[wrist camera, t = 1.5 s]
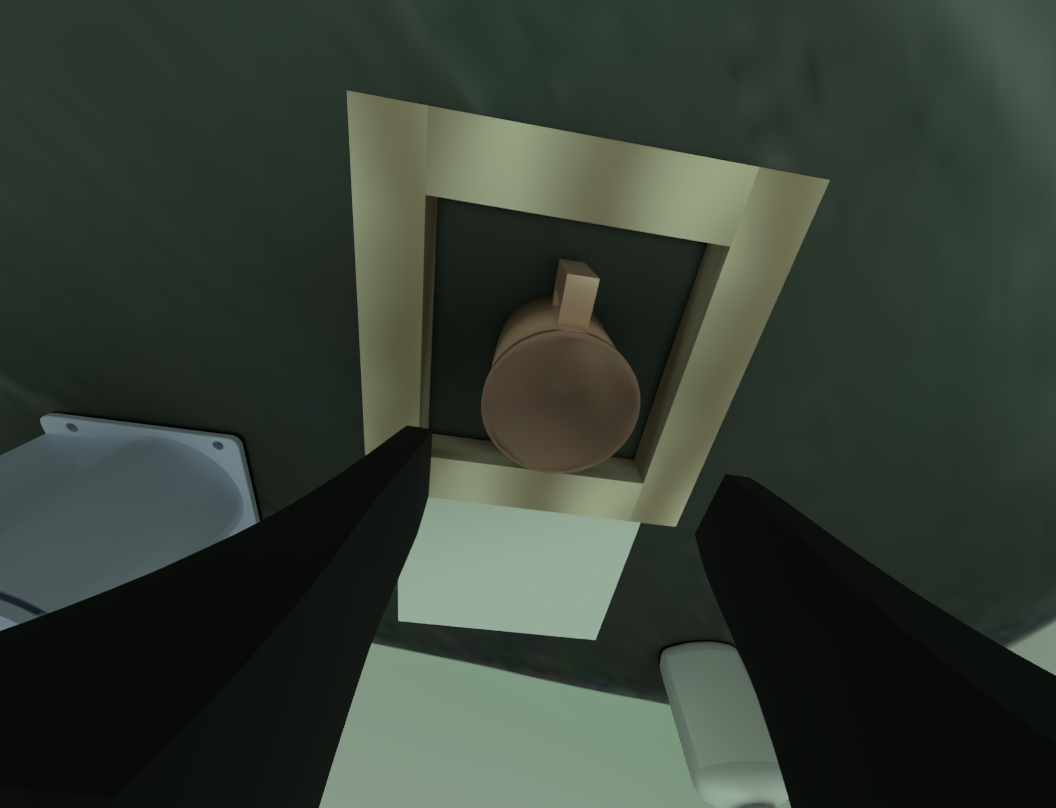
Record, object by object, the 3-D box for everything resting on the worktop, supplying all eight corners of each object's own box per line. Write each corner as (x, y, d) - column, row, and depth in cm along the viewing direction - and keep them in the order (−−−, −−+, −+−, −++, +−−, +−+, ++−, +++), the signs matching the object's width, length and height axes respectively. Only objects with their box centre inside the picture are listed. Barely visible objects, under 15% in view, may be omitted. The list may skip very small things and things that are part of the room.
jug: (489, 390, 19) (474, 463, 14) (507, 246, 16) (495, 267, 11) (593, 404, 19) (617, 481, 14) (629, 265, 16) (677, 296, 11)
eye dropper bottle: (680, 628, 28) (775, 895, 17) (744, 646, 29) (872, 909, 18) (648, 660, 29) (715, 919, 19) (709, 677, 30) (806, 931, 20)
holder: (380, 465, 21) (367, 490, 19) (370, 104, 14) (346, 90, 12) (664, 500, 22) (675, 526, 20) (793, 182, 15) (829, 180, 13)
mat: (399, 616, 27) (398, 620, 27) (399, 482, 22) (397, 486, 21) (594, 635, 28) (595, 639, 28) (642, 511, 23) (643, 515, 22)
